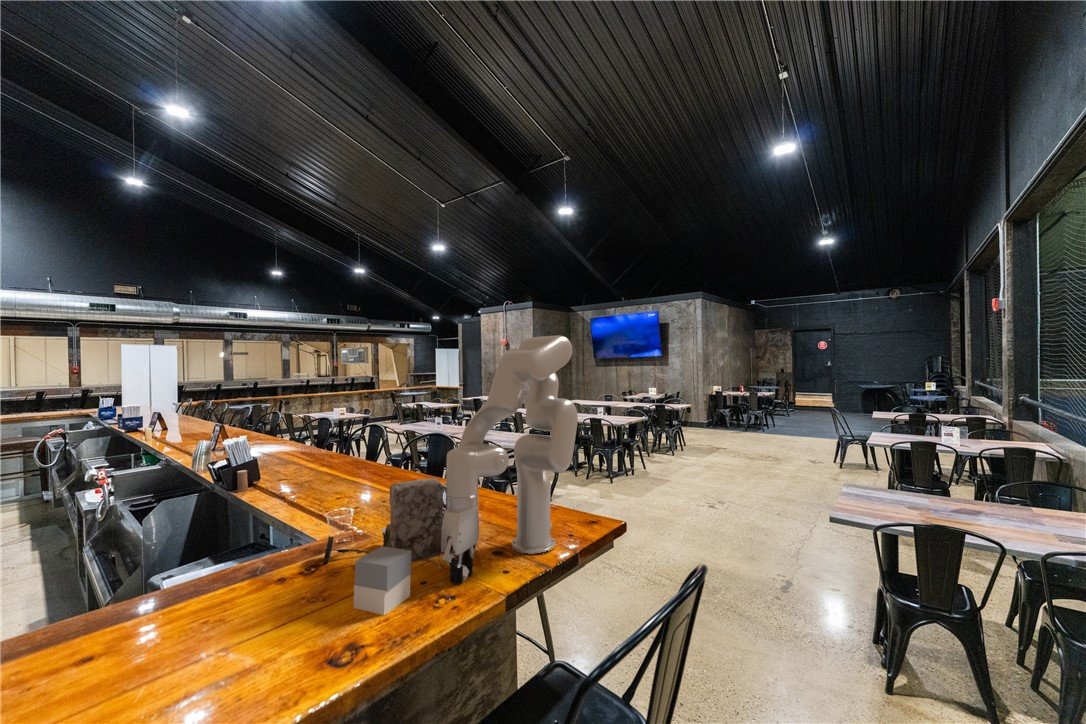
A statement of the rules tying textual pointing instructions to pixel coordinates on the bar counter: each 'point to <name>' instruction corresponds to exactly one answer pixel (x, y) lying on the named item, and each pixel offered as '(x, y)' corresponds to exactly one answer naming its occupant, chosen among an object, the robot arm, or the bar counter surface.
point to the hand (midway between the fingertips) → (461, 578)
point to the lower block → (381, 597)
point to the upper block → (383, 568)
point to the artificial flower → (330, 544)
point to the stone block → (417, 517)
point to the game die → (465, 572)
